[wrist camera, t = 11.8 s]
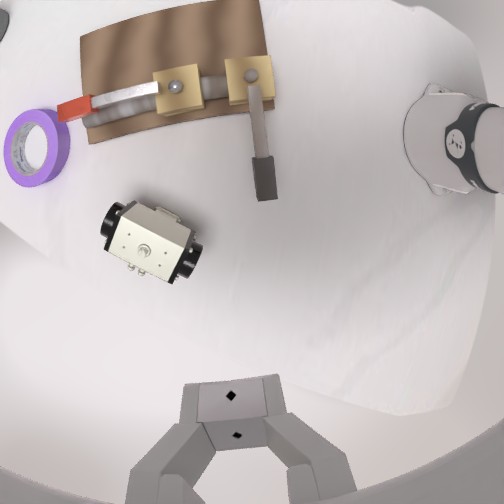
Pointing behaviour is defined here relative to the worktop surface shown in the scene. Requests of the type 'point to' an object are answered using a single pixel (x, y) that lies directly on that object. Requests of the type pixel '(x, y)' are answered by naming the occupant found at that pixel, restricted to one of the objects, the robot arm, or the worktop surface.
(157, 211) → the pneumatic valve
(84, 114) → the red lever
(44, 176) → the masking tape
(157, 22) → the pipe board
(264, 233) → the worktop surface
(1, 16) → the water bottle
